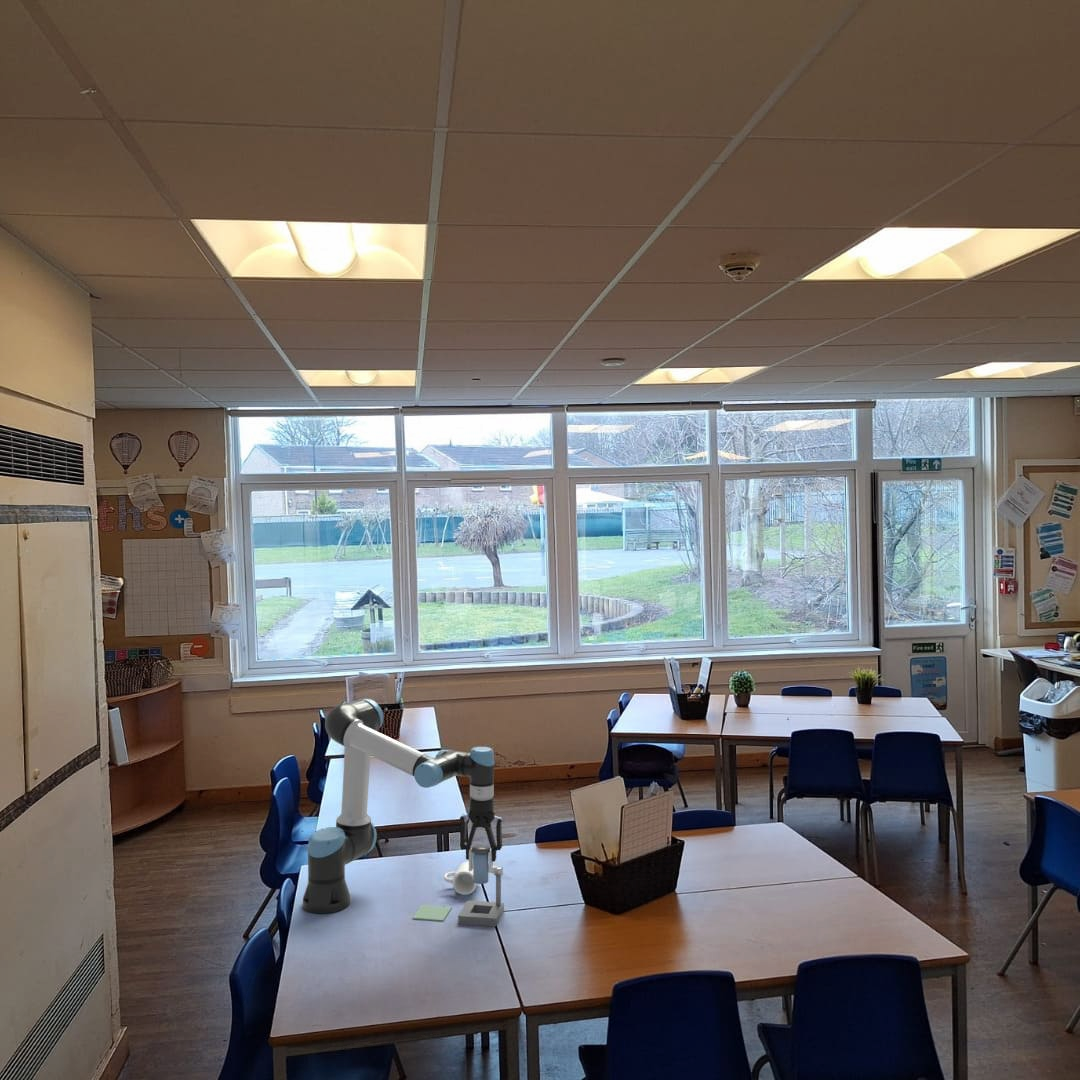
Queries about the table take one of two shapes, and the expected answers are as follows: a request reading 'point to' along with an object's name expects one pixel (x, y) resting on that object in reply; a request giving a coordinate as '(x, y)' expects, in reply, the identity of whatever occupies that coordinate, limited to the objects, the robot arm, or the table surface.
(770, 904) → the table surface
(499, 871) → the lever
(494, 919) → the socket
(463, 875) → the mug
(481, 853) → the plug
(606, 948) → the table surface
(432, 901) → the table surface
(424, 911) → the mat
